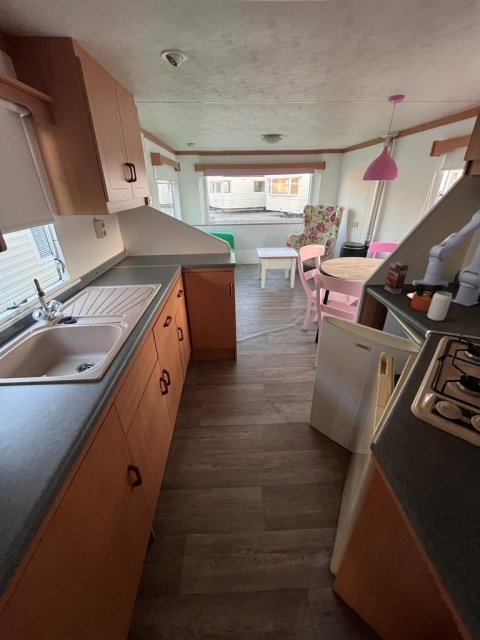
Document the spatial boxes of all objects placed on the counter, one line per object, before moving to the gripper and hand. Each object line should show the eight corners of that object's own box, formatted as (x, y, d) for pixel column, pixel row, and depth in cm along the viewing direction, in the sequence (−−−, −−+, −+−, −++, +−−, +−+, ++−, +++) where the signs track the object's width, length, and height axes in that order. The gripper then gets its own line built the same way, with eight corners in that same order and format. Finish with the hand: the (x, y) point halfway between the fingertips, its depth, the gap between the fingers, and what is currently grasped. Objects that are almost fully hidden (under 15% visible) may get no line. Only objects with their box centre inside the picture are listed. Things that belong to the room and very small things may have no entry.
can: (446, 321, 116) (456, 296, 110) (430, 320, 117) (438, 295, 112) (439, 315, 121) (448, 290, 116) (424, 314, 123) (432, 290, 117)
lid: (415, 293, 147) (417, 285, 145) (436, 300, 138) (438, 291, 136) (402, 297, 143) (404, 289, 141) (423, 304, 134) (425, 295, 132)
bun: (432, 303, 128) (435, 295, 126) (426, 305, 126) (428, 296, 124) (421, 299, 132) (424, 291, 130) (415, 301, 130) (417, 293, 128)
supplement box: (383, 289, 154) (390, 262, 147) (391, 288, 155) (397, 261, 148) (393, 294, 147) (401, 265, 140) (401, 293, 147) (409, 265, 140)
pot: (418, 302, 136) (422, 290, 133) (439, 309, 128) (444, 296, 125) (405, 305, 132) (409, 293, 129) (426, 313, 124) (430, 300, 121)
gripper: (446, 270, 125) (436, 297, 131) (412, 269, 127) (405, 296, 133) (454, 274, 118) (444, 302, 124) (419, 273, 120) (411, 301, 126)
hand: (424, 299), depth 128 cm, fingers closed on bun, 5 cm apart
